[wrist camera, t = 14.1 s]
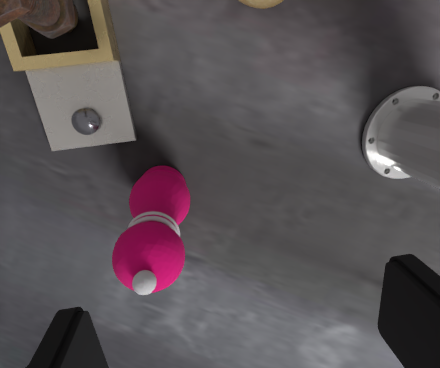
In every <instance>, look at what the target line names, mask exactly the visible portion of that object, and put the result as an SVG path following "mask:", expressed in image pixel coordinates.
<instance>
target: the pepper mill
mask: <svg viewBox="0 0 440 368" xmlns="http://www.w3.org/2000/svg"><path fill="white" fill-rule="evenodd" d="M129 205H130V211H131V214H132V216H133V218H134V219H133V220H132V221H131V222H130V224H129V226H128V229H127V230H126V231H125V232H124V233H122V234H121V235H120V237H119V238H118V240H117V242H116V244H115V247H114V250H113V255H112V264H113V269H114V272H115V274H116V276H117V278H118V279H119V280H120V281H121V282H122V284H124V285H125V286H126V287H128V288H129V289H131V290H134V291H135V292H136V293H137V294H140V295H147V294H149V293H154V292H157V291H160V290H162V289H165V288H167V287H168V286H169V285H171V284H172V283H173V282H174V281H175V280H176V279H177V278H178V276H179V275H180V273H181V271H182V268H183V266H184V261H185V250H184V245H183V242H182V240H181V238H180V230H179V227H178V225H179V224H180V223H181V222H182V221H183V220H184V218H185V217H186V215H187V213H188V210H189V206H190V194H189V190H188V188H187V186H186V182H185V179H184V177H183V176H182V175H181V173H180V172H178V171H177V170H176V169H174V168H172V167H169V166H155V167H152V168H150V169H149V170H147V171H146V172H145V173H144V174H143V176H142V177H141V178H140V179H139V180H138V181H137V182H136V183H135V184H134V186H133V188H132V190H131V194H130V198H129Z"/></svg>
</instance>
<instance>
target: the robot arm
mask: <svg viewBox="0 0 440 368" xmlns="http://www.w3.org/2000/svg"><path fill="white" fill-rule="evenodd" d="M362 150H363V154H364V158H365V160H366V161H367V163H368V165H369V166H370V167H371V168H372V169H373V170H374V171H376V172H377V173H379V174H381V175H383V176H385V177H388V178H392V179H402V178H408V177H414V178H416V179H418V180H420V181H422V182H424V183H426V184H428V185H430V186H433V187H435V188H437V189H439V190H440V91H439V90H437V89H435V88H431V87H426V86H411V87H406V88H403V89H400V90H398V91H396V92H394V93H392V94H390V95H389V96H388V97H386V98H385V99H384V100H383V101H382V102H381V103H380V104H379V105H378V106H377V107H376V108H375V109H374V111H373V112H372V114H371V115H370V117H369V119H368V121H367V123H366V125H365V128H364V132H363V137H362ZM378 329H379V332H380V334H381V336H382V338H383V339H384V340H385V342H386V343H387V344H388V346H389V347H390V348H391V350H392V351H393V353H394V354H395V355H396V357H397V358H398V359H399V361H400V362H401V363H402V365H403V366H404V368H440V276H439V275H438V274H437V273H435V272H434V271H433V270H432V269H430V268H429V267H428V266H427V265H425V264H424V263H423V262H422V261H421V260H419V259H418V258H417V257H416V256H414V255H412V254H406V255H400V256H394V257H391V258H390V260H389V262H388V263H386V266H385V273H384V280H383V288H382V295H381V303H380V310H379V318H378ZM26 368H109V367H108V364H107V362H106V359H105V356H104V353H103V351H102V348H101V345H100V342H99V339H98V337H97V334H96V331H95V328H94V326H93V323H92V320H91V317H90V315H89V312H88V311H83V309H82V308H81V307H75V308H69V309H62V310H59V311H58V312H57V313H56V315H55V317H54V318H53V320H52V322H51V324H50V326H49V328H48V330H47V332H46V333H45V335H44V337H43V339H42V341H41V343H40V345H39V347H38V348H37V350H36V352H35V354H34V356H33V358H32V360H31V362H30V363H29V365H28V366H27V367H26Z"/></svg>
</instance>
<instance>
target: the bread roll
mask: <svg viewBox="0 0 440 368" xmlns="http://www.w3.org/2000/svg"><path fill="white" fill-rule="evenodd" d="M238 1H240V2H242V3H243V4H245V5H248V6H251V7H255V8H261V9H265V8H269V7H273V6H275V5H277V4H279V3H281V2H282V1H283V0H238Z"/></svg>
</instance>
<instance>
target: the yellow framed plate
mask: <svg viewBox="0 0 440 368" xmlns="http://www.w3.org/2000/svg"><path fill="white" fill-rule="evenodd" d="M87 1H88V5H89V9H90V13H91V17H92V22H93V26H94V30H95V34H96V39H97V43H98V47H99V49H93V50H84V51H75V52H65V53H56V54H46V55H37V53H36V50H35V46H34V43H33V40H32V37H31V34H30V30H29V27H28V25H26V24H25V23H24V22H22V21H21V19H18V18H16V19H15V20H13V21H11V22H9V23H8V24H6V25H4V26H3V27H1V28H0V33H1V36H2V39H3V41H4V44H5V47H6V50H7V53H8V56H9V59H10V62H11V65H12V67H13V70H14V71H26V74H27V77H28V80H29V83H30V86H31V89H32V92H33V95H34V98H35V101H36V104H37V107H38V110H39V114H40V117H41V120H42V123H43V126H44V129H45V132H46V135H47V138H48V141H49V144H50V147H51V150H52V151H57V150H65V149H72V148H80V147H88V146H96V145H104V144H112V143H120V142H128V141H136V139H137V135H136V130H135V125H134V121H133V116H132V111H131V107H130V102H129V97H128V93H127V88H126V83H125V79H124V74H123V69H122V65H121V60H120V55H119V51H118V46H117V41H116V37H115V32H114V27H113V23H112V18H111V13H110V9H109V4H108V0H87Z"/></svg>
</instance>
